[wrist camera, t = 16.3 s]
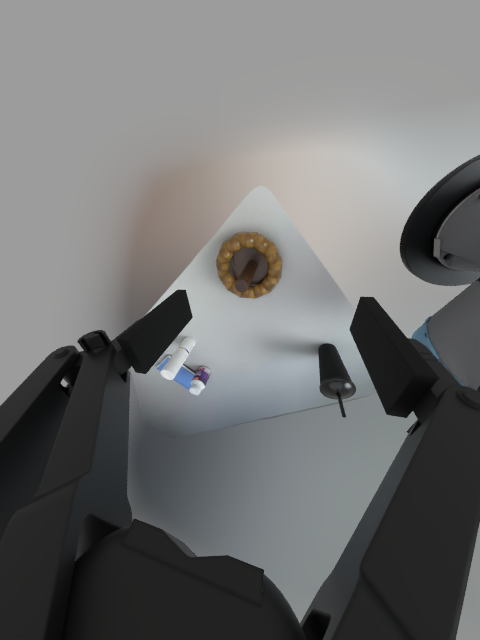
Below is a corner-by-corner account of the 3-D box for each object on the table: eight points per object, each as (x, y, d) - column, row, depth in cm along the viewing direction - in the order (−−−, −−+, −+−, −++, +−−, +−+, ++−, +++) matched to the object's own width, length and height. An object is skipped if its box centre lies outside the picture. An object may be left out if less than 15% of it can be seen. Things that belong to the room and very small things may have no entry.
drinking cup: (346, 343, 50) (373, 412, 34) (334, 361, 55) (354, 430, 39) (319, 337, 51) (333, 401, 35) (309, 355, 56) (318, 419, 40)
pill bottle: (203, 364, 70) (192, 385, 62) (213, 372, 71) (204, 393, 63) (195, 369, 72) (184, 389, 65) (205, 376, 74) (196, 397, 66)
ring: (284, 230, 37) (284, 233, 34) (279, 296, 45) (278, 302, 43) (215, 231, 40) (211, 234, 37) (222, 293, 48) (219, 298, 46)
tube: (183, 342, 65) (159, 375, 53) (185, 334, 63) (161, 367, 50) (194, 347, 65) (172, 381, 53) (197, 340, 63) (175, 374, 51)
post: (272, 244, 40) (266, 261, 29) (270, 282, 45) (265, 309, 34) (233, 244, 42) (214, 261, 31) (236, 280, 47) (220, 306, 36)
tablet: (207, 380, 75) (206, 383, 74) (192, 390, 82) (191, 392, 81) (169, 353, 70) (167, 355, 69) (157, 366, 77) (155, 368, 76)
